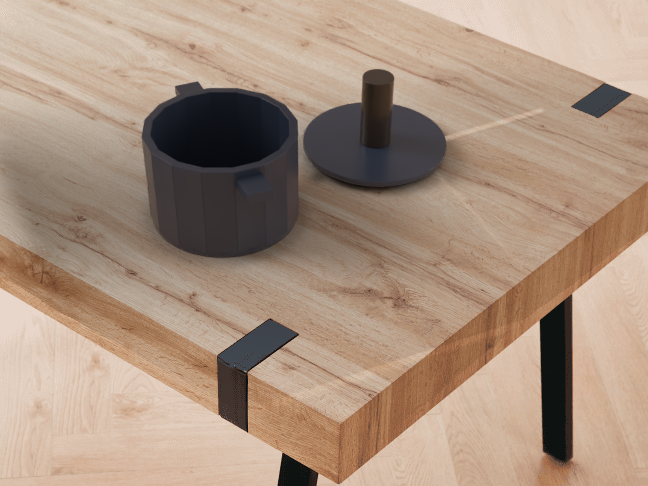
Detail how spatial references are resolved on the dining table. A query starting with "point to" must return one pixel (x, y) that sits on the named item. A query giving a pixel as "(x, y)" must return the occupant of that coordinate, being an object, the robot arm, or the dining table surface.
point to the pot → (221, 170)
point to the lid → (375, 138)
